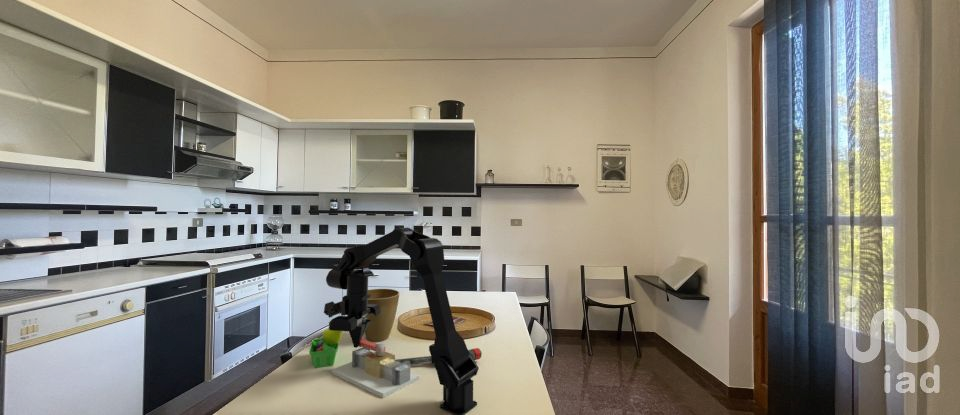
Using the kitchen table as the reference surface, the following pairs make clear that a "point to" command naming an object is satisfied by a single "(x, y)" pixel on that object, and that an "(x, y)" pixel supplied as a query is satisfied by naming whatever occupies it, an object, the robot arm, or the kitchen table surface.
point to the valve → (473, 353)
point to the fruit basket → (325, 348)
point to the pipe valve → (381, 366)
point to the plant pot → (381, 314)
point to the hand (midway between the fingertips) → (355, 347)
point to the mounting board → (370, 380)
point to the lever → (373, 346)
